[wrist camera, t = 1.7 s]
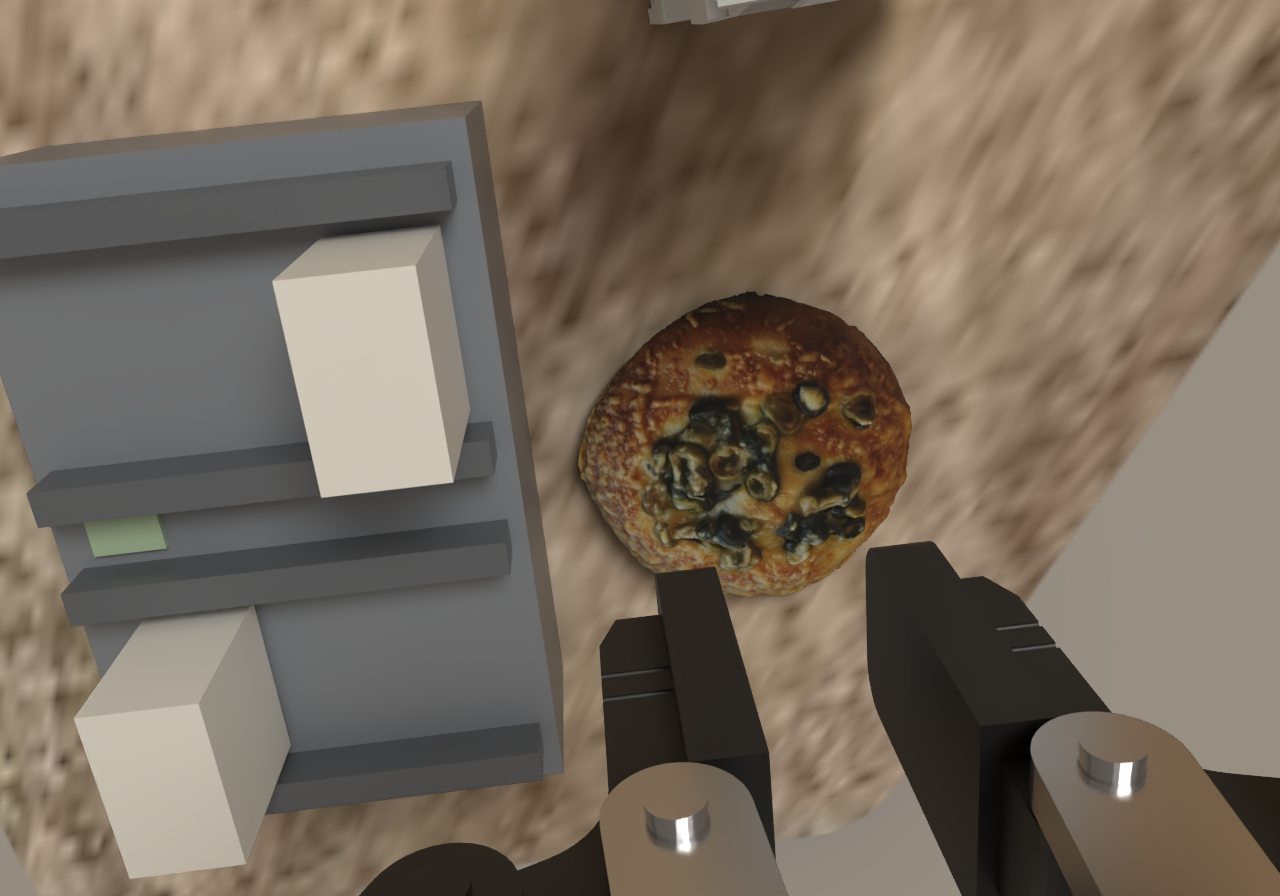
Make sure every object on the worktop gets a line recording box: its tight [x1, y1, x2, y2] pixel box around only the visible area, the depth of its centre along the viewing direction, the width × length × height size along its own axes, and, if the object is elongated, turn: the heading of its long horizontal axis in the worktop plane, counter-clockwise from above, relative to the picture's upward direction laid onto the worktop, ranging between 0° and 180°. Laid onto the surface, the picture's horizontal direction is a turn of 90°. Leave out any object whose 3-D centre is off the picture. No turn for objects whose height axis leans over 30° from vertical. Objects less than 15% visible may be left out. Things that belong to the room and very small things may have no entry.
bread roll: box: [578, 291, 912, 597], centre depth 36 cm, size 11×11×5 cm
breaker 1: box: [74, 605, 291, 879], centre depth 29 cm, size 3×5×5 cm, turn 6°
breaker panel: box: [0, 101, 564, 815], centre depth 32 cm, size 13×20×8 cm, turn 6°
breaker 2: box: [272, 224, 470, 498], centre depth 26 cm, size 3×5×5 cm, turn 6°
